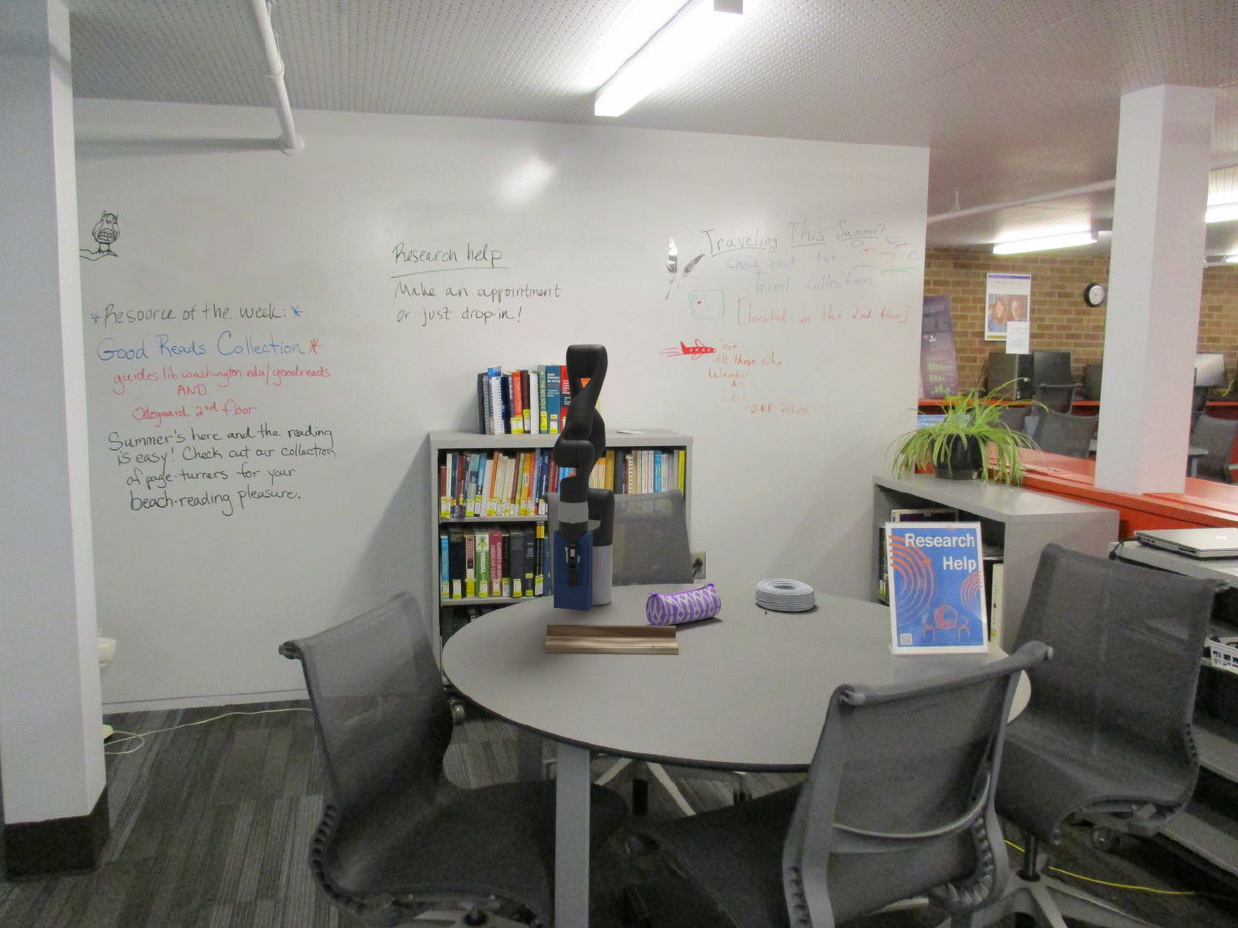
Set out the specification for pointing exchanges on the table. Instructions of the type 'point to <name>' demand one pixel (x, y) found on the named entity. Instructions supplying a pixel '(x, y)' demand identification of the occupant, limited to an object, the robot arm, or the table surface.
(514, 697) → the table surface
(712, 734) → the table surface
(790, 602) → the cable
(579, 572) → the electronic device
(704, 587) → the pencil case
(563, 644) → the guide board
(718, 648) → the table surface
